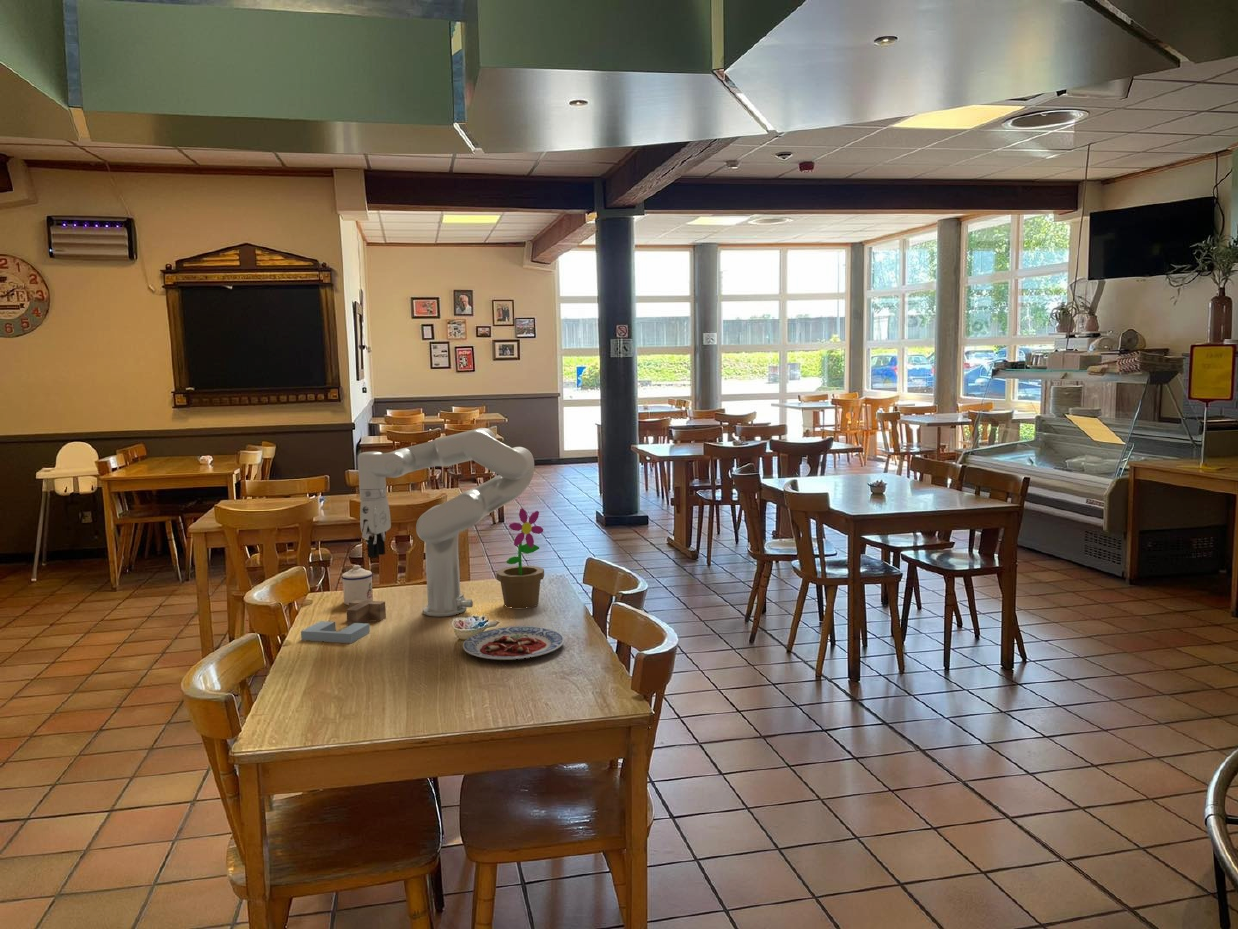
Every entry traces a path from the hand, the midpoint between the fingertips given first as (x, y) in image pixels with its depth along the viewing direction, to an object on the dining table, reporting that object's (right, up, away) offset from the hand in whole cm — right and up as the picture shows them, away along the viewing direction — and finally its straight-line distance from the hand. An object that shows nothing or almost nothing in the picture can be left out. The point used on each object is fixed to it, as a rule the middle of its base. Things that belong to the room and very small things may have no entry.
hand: (376, 555), depth 266 cm
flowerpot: (+42, -16, +7) cm, 45 cm away
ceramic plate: (+45, -21, -35) cm, 60 cm away
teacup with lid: (-10, -16, +15) cm, 24 cm away
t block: (-2, -18, -8) cm, 20 cm away
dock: (-5, -20, -20) cm, 29 cm away
